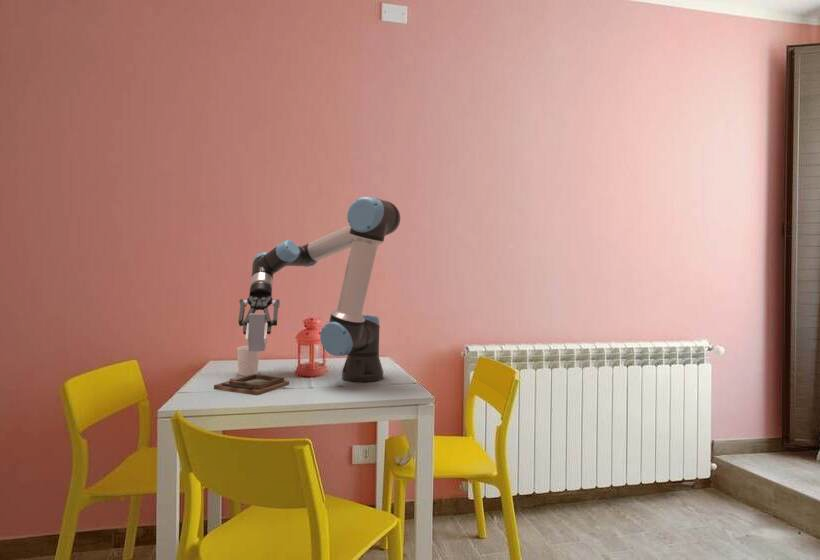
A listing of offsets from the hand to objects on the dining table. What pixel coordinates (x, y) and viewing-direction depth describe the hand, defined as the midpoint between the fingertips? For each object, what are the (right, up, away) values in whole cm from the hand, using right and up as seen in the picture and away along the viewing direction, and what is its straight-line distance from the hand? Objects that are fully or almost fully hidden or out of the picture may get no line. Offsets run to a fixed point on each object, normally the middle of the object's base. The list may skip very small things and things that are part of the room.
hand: (256, 340), depth 165 cm
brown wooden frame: (-3, -16, +5) cm, 17 cm away
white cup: (-10, -16, +24) cm, 31 cm away
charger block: (-1, -3, +4) cm, 5 cm away
